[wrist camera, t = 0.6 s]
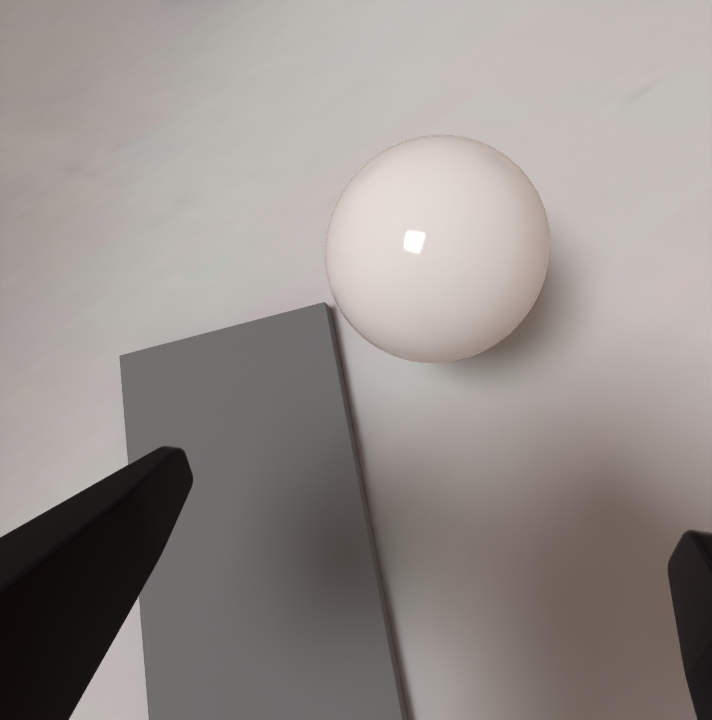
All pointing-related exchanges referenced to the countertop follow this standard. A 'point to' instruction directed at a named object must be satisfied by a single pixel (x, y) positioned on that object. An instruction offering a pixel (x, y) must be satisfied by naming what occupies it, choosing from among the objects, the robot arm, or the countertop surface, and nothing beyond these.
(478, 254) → the lightbulb
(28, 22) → the countertop surface
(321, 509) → the grey flat plate
